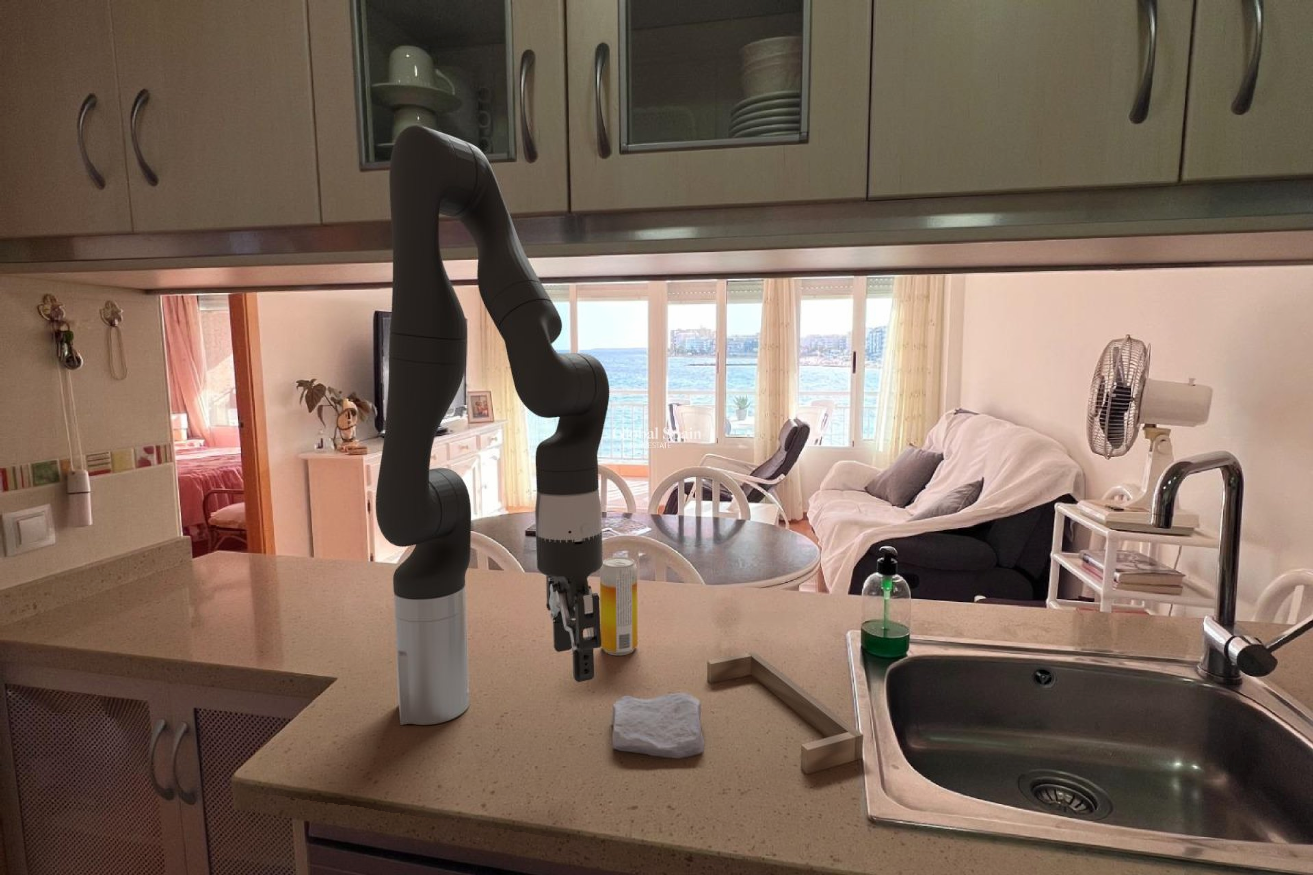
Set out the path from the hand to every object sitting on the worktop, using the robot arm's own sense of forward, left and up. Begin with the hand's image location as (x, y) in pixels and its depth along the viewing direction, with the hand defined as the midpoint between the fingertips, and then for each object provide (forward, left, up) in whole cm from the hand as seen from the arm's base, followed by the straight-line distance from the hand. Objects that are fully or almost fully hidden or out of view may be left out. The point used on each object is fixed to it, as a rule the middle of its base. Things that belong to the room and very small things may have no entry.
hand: (573, 663), depth 79 cm
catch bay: (+28, 0, -13) cm, 31 cm away
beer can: (+16, +28, -13) cm, 35 cm away
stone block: (+11, +1, -13) cm, 17 cm away
